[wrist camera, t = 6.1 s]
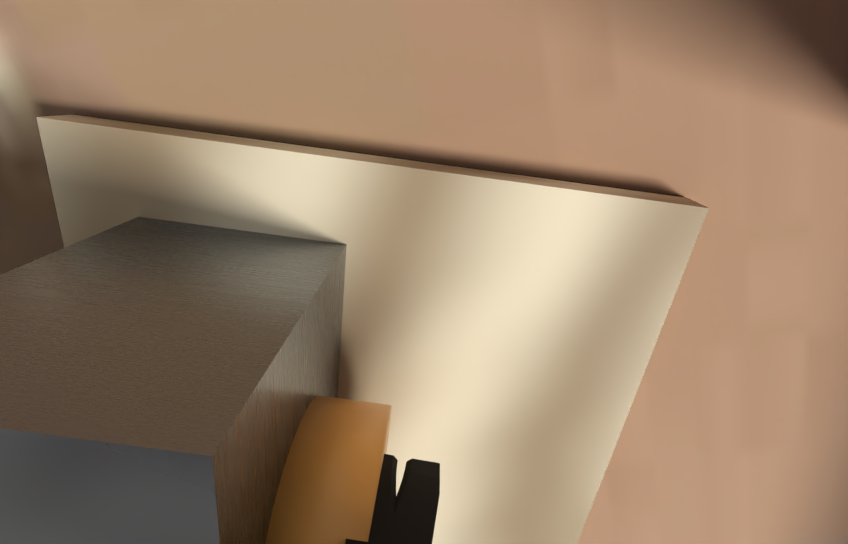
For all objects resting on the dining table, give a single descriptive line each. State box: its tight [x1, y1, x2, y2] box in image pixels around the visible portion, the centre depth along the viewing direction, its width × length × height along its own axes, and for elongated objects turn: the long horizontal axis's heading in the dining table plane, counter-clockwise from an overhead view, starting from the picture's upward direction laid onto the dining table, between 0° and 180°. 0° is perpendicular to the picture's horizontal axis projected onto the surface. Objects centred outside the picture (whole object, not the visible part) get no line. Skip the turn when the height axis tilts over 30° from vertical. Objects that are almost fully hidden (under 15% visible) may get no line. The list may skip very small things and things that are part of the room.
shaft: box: [265, 396, 392, 544], centre depth 9 cm, size 15×4×4 cm, turn 83°
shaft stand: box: [0, 114, 709, 544], centre depth 10 cm, size 15×13×8 cm
